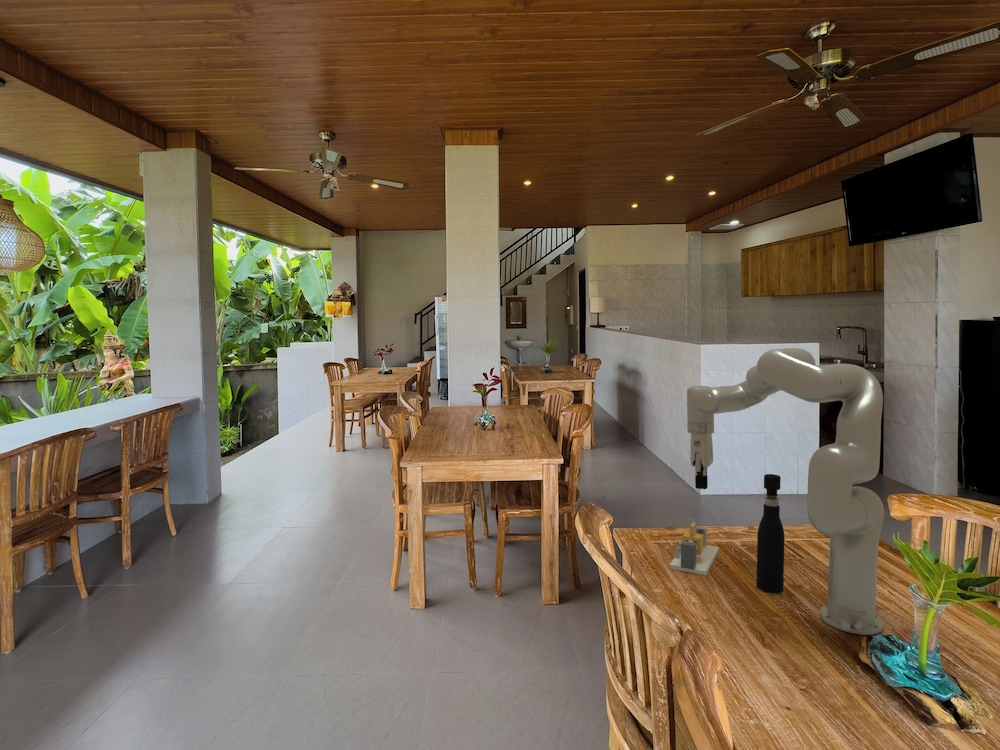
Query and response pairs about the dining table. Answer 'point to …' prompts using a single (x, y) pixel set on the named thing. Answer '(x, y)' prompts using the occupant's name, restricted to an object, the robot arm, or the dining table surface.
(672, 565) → the linear slide rail
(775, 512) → the black water bottle
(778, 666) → the dining table surface
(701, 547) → the sleeve
